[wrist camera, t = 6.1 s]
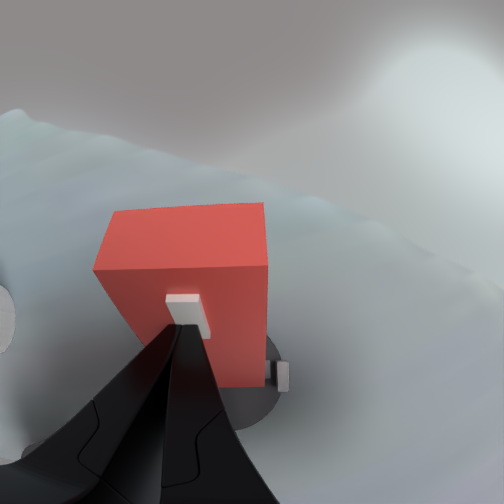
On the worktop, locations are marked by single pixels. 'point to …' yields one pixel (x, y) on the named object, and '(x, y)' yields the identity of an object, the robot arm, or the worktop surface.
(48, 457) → the robot arm
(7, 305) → the shot glass
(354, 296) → the worktop surface
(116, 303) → the block
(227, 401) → the dark rounded piece
